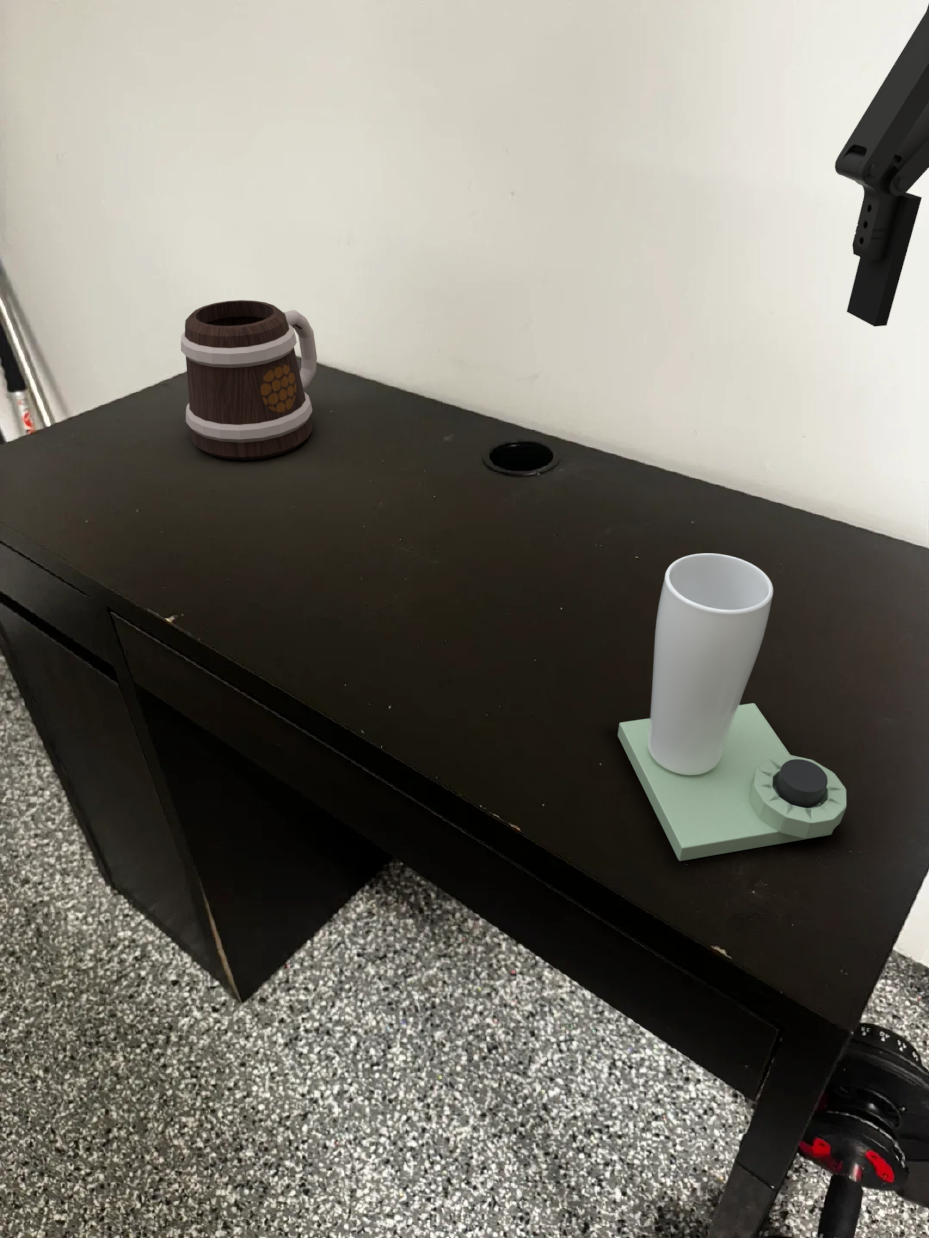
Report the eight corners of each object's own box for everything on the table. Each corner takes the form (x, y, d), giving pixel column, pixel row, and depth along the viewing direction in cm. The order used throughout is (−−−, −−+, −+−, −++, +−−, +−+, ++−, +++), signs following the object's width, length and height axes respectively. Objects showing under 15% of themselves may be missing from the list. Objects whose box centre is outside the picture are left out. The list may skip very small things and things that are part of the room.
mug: (255, 476, 101) (235, 345, 92) (163, 443, 108) (136, 319, 99) (364, 415, 115) (355, 296, 106) (276, 390, 121) (261, 276, 112)
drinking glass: (631, 777, 62) (660, 603, 53) (639, 713, 68) (667, 545, 59) (731, 795, 61) (777, 620, 52) (731, 728, 66) (773, 559, 57)
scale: (852, 843, 60) (864, 813, 58) (684, 873, 58) (691, 843, 56) (762, 714, 70) (770, 685, 68) (617, 735, 68) (621, 706, 66)
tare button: (830, 804, 59) (836, 788, 58) (789, 811, 58) (794, 795, 58) (808, 771, 61) (813, 755, 60) (767, 778, 61) (772, 762, 60)
